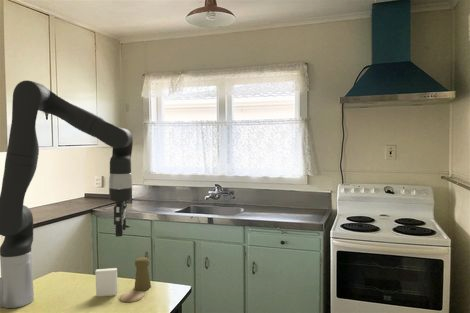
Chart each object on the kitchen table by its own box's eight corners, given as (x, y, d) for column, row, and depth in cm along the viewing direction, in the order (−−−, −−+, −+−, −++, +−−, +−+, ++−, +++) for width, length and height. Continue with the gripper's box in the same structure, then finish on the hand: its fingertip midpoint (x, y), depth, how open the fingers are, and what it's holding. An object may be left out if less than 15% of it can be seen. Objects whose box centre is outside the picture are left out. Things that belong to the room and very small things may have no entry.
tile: (96, 296, 130) (95, 271, 130) (97, 293, 133) (96, 269, 132) (116, 294, 131) (116, 270, 131) (117, 292, 134) (117, 267, 133)
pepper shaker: (146, 291, 134) (145, 261, 133) (131, 290, 135) (130, 260, 135) (153, 284, 140) (152, 256, 139) (138, 283, 141) (138, 255, 141)
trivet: (118, 303, 125) (118, 301, 125) (121, 293, 133) (121, 291, 133) (142, 301, 126) (142, 299, 126) (144, 291, 134) (144, 289, 134)
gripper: (112, 183, 133) (112, 228, 134) (105, 189, 119) (105, 239, 120) (134, 183, 135) (134, 227, 136) (129, 189, 121) (129, 238, 121)
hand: (120, 232), depth 128 cm, fingers open, 8 cm apart
